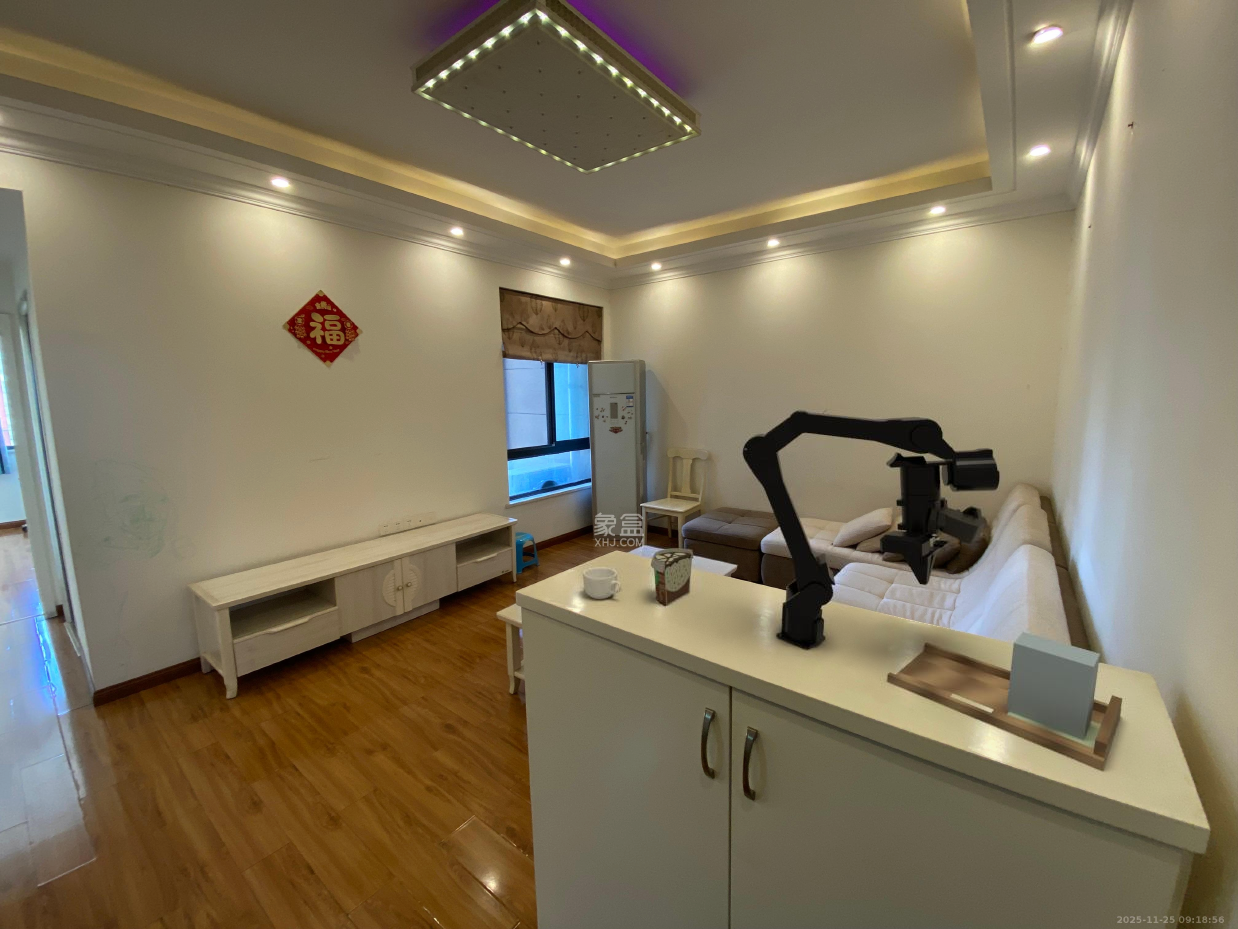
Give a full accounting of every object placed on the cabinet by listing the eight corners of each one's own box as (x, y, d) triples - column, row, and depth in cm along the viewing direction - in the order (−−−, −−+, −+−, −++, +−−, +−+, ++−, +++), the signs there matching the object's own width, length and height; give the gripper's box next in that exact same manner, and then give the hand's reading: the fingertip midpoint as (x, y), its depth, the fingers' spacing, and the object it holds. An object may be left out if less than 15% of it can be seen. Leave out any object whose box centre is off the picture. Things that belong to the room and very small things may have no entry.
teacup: (575, 596, 112) (575, 573, 111) (598, 586, 118) (598, 564, 117) (609, 608, 106) (609, 583, 105) (631, 597, 112) (631, 573, 111)
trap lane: (886, 687, 76) (888, 663, 76) (925, 654, 86) (927, 632, 86) (1101, 778, 58) (1105, 747, 58) (1119, 723, 68) (1123, 696, 67)
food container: (670, 585, 119) (671, 544, 117) (692, 591, 115) (693, 549, 113) (639, 601, 109) (639, 557, 108) (662, 608, 105) (663, 563, 104)
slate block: (1006, 710, 69) (1013, 642, 68) (1015, 696, 72) (1023, 632, 71) (1083, 740, 63) (1093, 667, 62) (1090, 724, 66) (1100, 653, 65)
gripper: (957, 505, 71) (960, 612, 72) (995, 486, 82) (997, 578, 84) (876, 500, 79) (880, 595, 80) (921, 484, 91) (924, 567, 92)
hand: (923, 584), depth 84 cm, fingers closed
